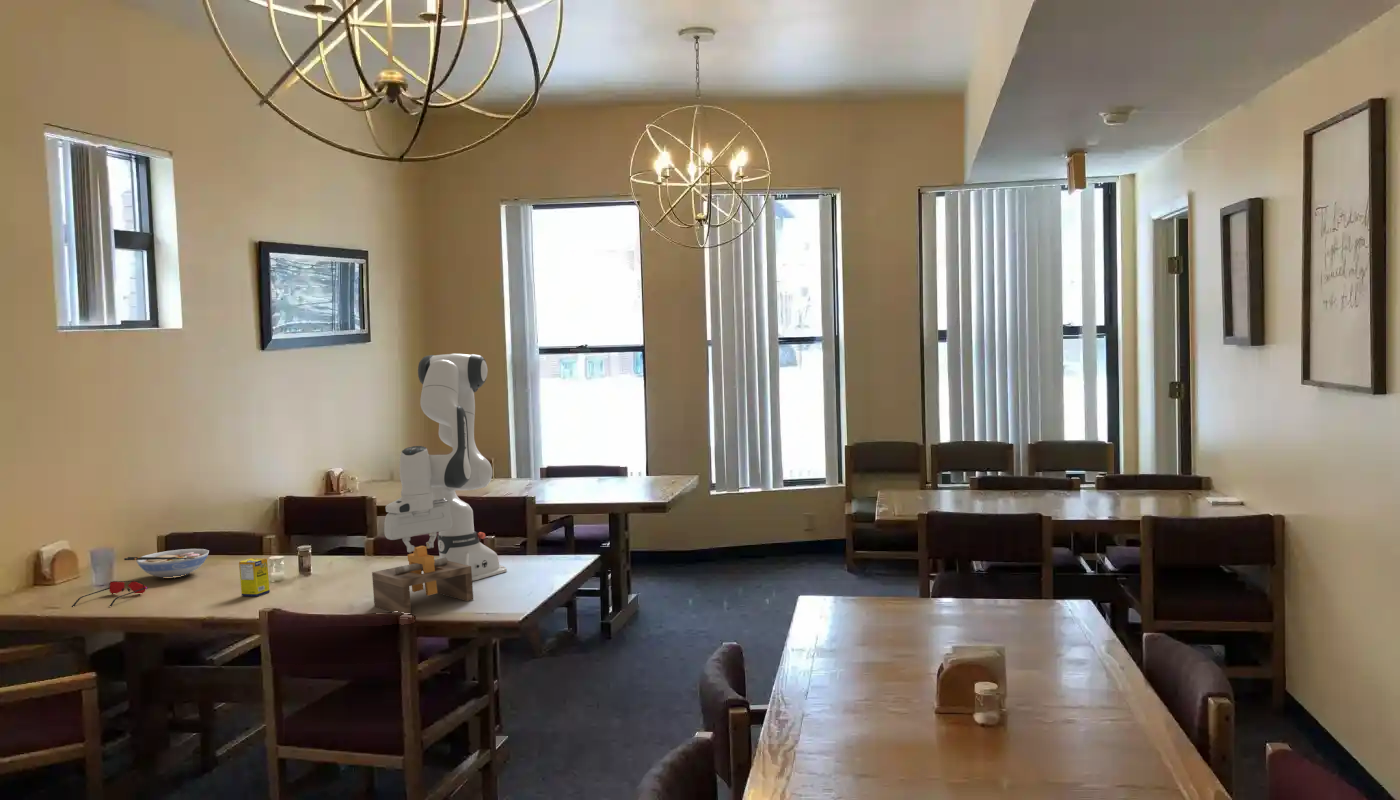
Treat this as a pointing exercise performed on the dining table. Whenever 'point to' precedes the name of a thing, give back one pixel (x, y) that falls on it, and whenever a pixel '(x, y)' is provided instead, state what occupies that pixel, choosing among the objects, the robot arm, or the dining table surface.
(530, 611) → the dining table surface
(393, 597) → the shelf
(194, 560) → the ramen bowl
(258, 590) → the supplement box
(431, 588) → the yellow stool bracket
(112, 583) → the glasses
